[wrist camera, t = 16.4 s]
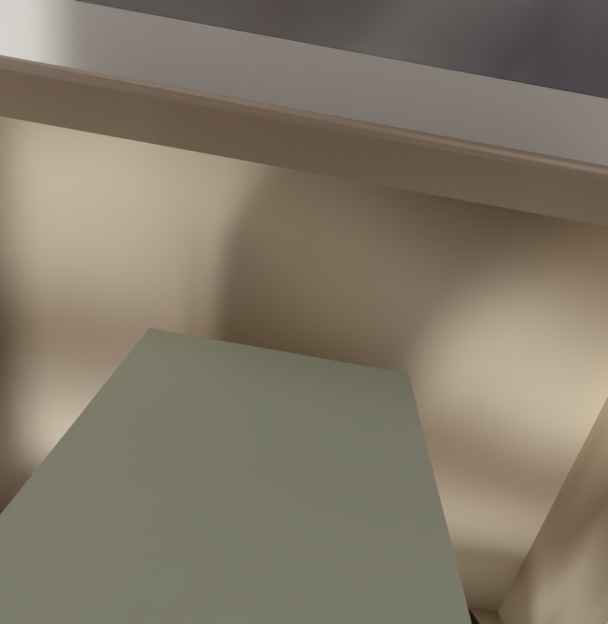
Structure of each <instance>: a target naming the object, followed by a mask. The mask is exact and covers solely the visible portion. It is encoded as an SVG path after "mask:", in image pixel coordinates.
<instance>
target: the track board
mask: <svg viewBox="0 0 608 624" xmlns="http://www.w3.org/2000/svg"><path fill="white" fill-rule="evenodd" d="M0 55H4V56H10V57H15V58H20V59H26V60H31V61H37V62H42V63H48V64H53V65H59V66H64V67H70V68H75V69H81V70H86V71H92V72H97V73H103V74H108V75H113V76H119V77H124V78H130V79H135V80H141V81H146V82H152V83H157V84H163V85H168V86H174V87H179V88H185V89H190V90H195V91H201V92H206V93H212V94H217V95H223V96H228V97H234V98H239V99H245V100H250V101H256V102H261V103H267V104H272V105H278V106H283V107H288V108H294V109H299V110H305V111H310V112H316V113H321V114H327V115H332V116H338V117H343V118H349V119H354V120H360V121H365V122H370V123H376V124H381V125H387V126H392V127H398V128H403V129H409V130H414V131H420V132H425V133H431V134H436V135H442V136H447V137H453V138H458V139H463V140H469V141H474V142H480V143H485V144H491V145H496V146H502V147H507V148H513V149H518V150H524V151H529V152H535V153H540V154H545V155H551V156H556V157H562V158H567V159H573V160H578V161H584V162H589V163H595V164H600V165H606V166H608V99H606V98H601V97H595V96H590V95H584V94H579V93H574V92H568V91H563V90H557V89H552V88H547V87H541V86H536V85H530V84H525V83H519V82H514V81H509V80H503V79H498V78H492V77H487V76H482V75H476V74H471V73H465V72H460V71H454V70H449V69H444V68H438V67H433V66H427V65H422V64H416V63H411V62H406V61H400V60H395V59H389V58H384V57H379V56H373V55H368V54H362V53H357V52H351V51H346V50H341V49H335V48H330V47H324V46H319V45H313V44H308V43H303V42H297V41H292V40H286V39H281V38H276V37H270V36H265V35H259V34H254V33H248V32H243V31H238V30H232V29H227V28H221V27H216V26H211V25H205V24H200V23H194V22H189V21H183V20H178V19H173V18H167V17H162V16H156V15H151V14H145V13H140V12H135V11H129V10H124V9H118V8H113V7H108V6H102V5H97V4H91V3H86V2H80V1H75V0H0Z"/></svg>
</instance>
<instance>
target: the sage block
mask: <svg viewBox="0 0 608 624" xmlns="http://www.w3.org/2000/svg"><path fill="white" fill-rule="evenodd" d="M0 624H472V623H471V619H470V615H469V611H468V607H467V603H466V599H465V595H464V591H463V587H462V583H461V579H460V575H459V571H458V567H457V563H456V559H455V556H454V552H453V548H452V544H451V540H450V536H449V532H448V528H447V524H446V520H445V516H444V512H443V508H442V504H441V500H440V496H439V492H438V489H437V485H436V481H435V477H434V473H433V469H432V465H431V461H430V457H429V453H428V449H427V445H426V441H425V437H424V433H423V429H422V425H421V421H420V418H419V414H418V410H417V406H416V402H415V398H414V394H413V390H412V386H411V382H410V378H409V374H408V373H402V372H397V371H391V370H385V369H380V368H374V367H368V366H362V365H357V364H351V363H345V362H340V361H334V360H328V359H323V358H317V357H311V356H306V355H300V354H294V353H289V352H283V351H277V350H272V349H266V348H260V347H254V346H249V345H243V344H237V343H232V342H226V341H220V340H215V339H209V338H203V337H198V336H192V335H186V334H181V333H175V332H169V331H164V330H158V329H152V328H149V329H148V330H147V331H146V332H145V334H144V335H143V336H142V337H141V339H140V340H139V341H138V343H137V344H136V345H135V346H134V348H133V349H132V350H131V351H130V353H129V354H128V355H127V356H126V358H125V359H124V360H123V361H122V363H121V364H120V365H119V366H118V368H117V369H116V370H115V371H114V373H113V374H112V375H111V376H110V378H109V379H108V380H107V381H106V383H105V384H104V385H103V386H102V388H101V389H100V390H99V391H98V393H97V394H96V395H95V396H94V398H93V399H92V400H91V401H90V403H89V404H88V405H87V406H86V408H85V409H84V410H83V412H82V413H81V414H80V415H79V417H78V418H77V419H76V420H75V422H74V423H73V424H72V425H71V427H70V428H69V429H68V430H67V432H66V433H65V434H64V435H63V437H62V438H61V439H60V440H59V442H58V443H57V444H56V445H55V447H54V448H53V449H52V450H51V452H50V453H49V454H48V455H47V457H46V458H45V459H44V460H43V462H42V463H41V464H40V465H39V467H38V468H37V469H36V470H35V472H34V473H33V474H32V476H31V477H30V478H29V479H28V481H27V482H26V483H25V484H24V486H23V487H22V488H21V489H20V491H19V492H18V493H17V494H16V496H15V497H14V498H13V499H12V501H11V502H10V503H9V504H8V506H7V507H6V508H5V509H4V511H3V512H2V513H1V514H0Z"/></svg>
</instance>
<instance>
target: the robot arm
mask: <svg viewBox="0 0 608 624" xmlns="http://www.w3.org/2000/svg"><path fill="white" fill-rule="evenodd" d="M467 607H468V611H469V615H470V619H471V623H472V624H480V623H479V621H478V620H477V618H476V617H475V615H474V614H473V612H472V611H471V609H470V608H469V606H468V605H467Z"/></svg>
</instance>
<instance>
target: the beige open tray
mask: <svg viewBox="0 0 608 624" xmlns="http://www.w3.org/2000/svg"><path fill="white" fill-rule="evenodd" d="M149 328H152V329H158V330H164V331H169V332H175V333H181V334H186V335H192V336H198V337H203V338H209V339H215V340H220V341H226V342H232V343H237V344H243V345H249V346H254V347H260V348H266V349H272V350H277V351H283V352H289V353H294V354H300V355H306V356H311V357H317V358H323V359H328V360H334V361H340V362H345V363H351V364H357V365H362V366H368V367H374V368H380V369H385V370H391V371H397V372H402V373H408V374H409V378H410V382H411V386H412V390H413V394H414V398H415V402H416V406H417V410H418V414H419V418H420V421H421V425H422V429H423V433H424V437H425V441H426V445H427V449H428V453H429V457H430V461H431V465H432V469H433V473H434V477H435V481H436V485H437V489H438V492H439V496H440V500H441V504H442V508H443V512H444V516H445V520H446V524H447V528H448V532H449V536H450V540H451V544H452V548H453V552H454V556H455V559H456V563H457V567H458V571H459V575H460V579H461V583H462V587H463V591H464V595H465V599H466V603H467V605H468V606H469V608H470V609H471V611H472V612H473V614H474V615H475V617H476V618H477V620H478V621H479V623H480V624H608V166H606V165H600V164H595V163H589V162H584V161H578V160H573V159H567V158H562V157H556V156H551V155H545V154H540V153H535V152H529V151H524V150H518V149H513V148H507V147H502V146H496V145H491V144H485V143H480V142H474V141H469V140H463V139H458V138H453V137H447V136H442V135H436V134H431V133H425V132H420V131H414V130H409V129H403V128H398V127H392V126H387V125H381V124H376V123H370V122H365V121H360V120H354V119H349V118H343V117H338V116H332V115H327V114H321V113H316V112H310V111H305V110H299V109H294V108H288V107H283V106H278V105H272V104H267V103H261V102H256V101H250V100H245V99H239V98H234V97H228V96H223V95H217V94H212V93H206V92H201V91H195V90H190V89H185V88H179V87H174V86H168V85H163V84H157V83H152V82H146V81H141V80H135V79H130V78H124V77H119V76H113V75H108V74H103V73H97V72H92V71H86V70H81V69H75V68H70V67H64V66H59V65H53V64H48V63H42V62H37V61H31V60H26V59H20V58H15V57H10V56H4V55H0V514H1V513H2V512H3V511H4V509H5V508H6V507H7V506H8V504H9V503H10V502H11V501H12V499H13V498H14V497H15V496H16V494H17V493H18V492H19V491H20V489H21V488H22V487H23V486H24V484H25V483H26V482H27V481H28V479H29V478H30V477H31V476H32V474H33V473H34V472H35V470H36V469H37V468H38V467H39V465H40V464H41V463H42V462H43V460H44V459H45V458H46V457H47V455H48V454H49V453H50V452H51V450H52V449H53V448H54V447H55V445H56V444H57V443H58V442H59V440H60V439H61V438H62V437H63V435H64V434H65V433H66V432H67V430H68V429H69V428H70V427H71V425H72V424H73V423H74V422H75V420H76V419H77V418H78V417H79V415H80V414H81V413H82V412H83V410H84V409H85V408H86V406H87V405H88V404H89V403H90V401H91V400H92V399H93V398H94V396H95V395H96V394H97V393H98V391H99V390H100V389H101V388H102V386H103V385H104V384H105V383H106V381H107V380H108V379H109V378H110V376H111V375H112V374H113V373H114V371H115V370H116V369H117V368H118V366H119V365H120V364H121V363H122V361H123V360H124V359H125V358H126V356H127V355H128V354H129V353H130V351H131V350H132V349H133V348H134V346H135V345H136V344H137V343H138V341H139V340H140V339H141V337H142V336H143V335H144V334H145V332H146V331H147V330H148V329H149Z"/></svg>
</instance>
